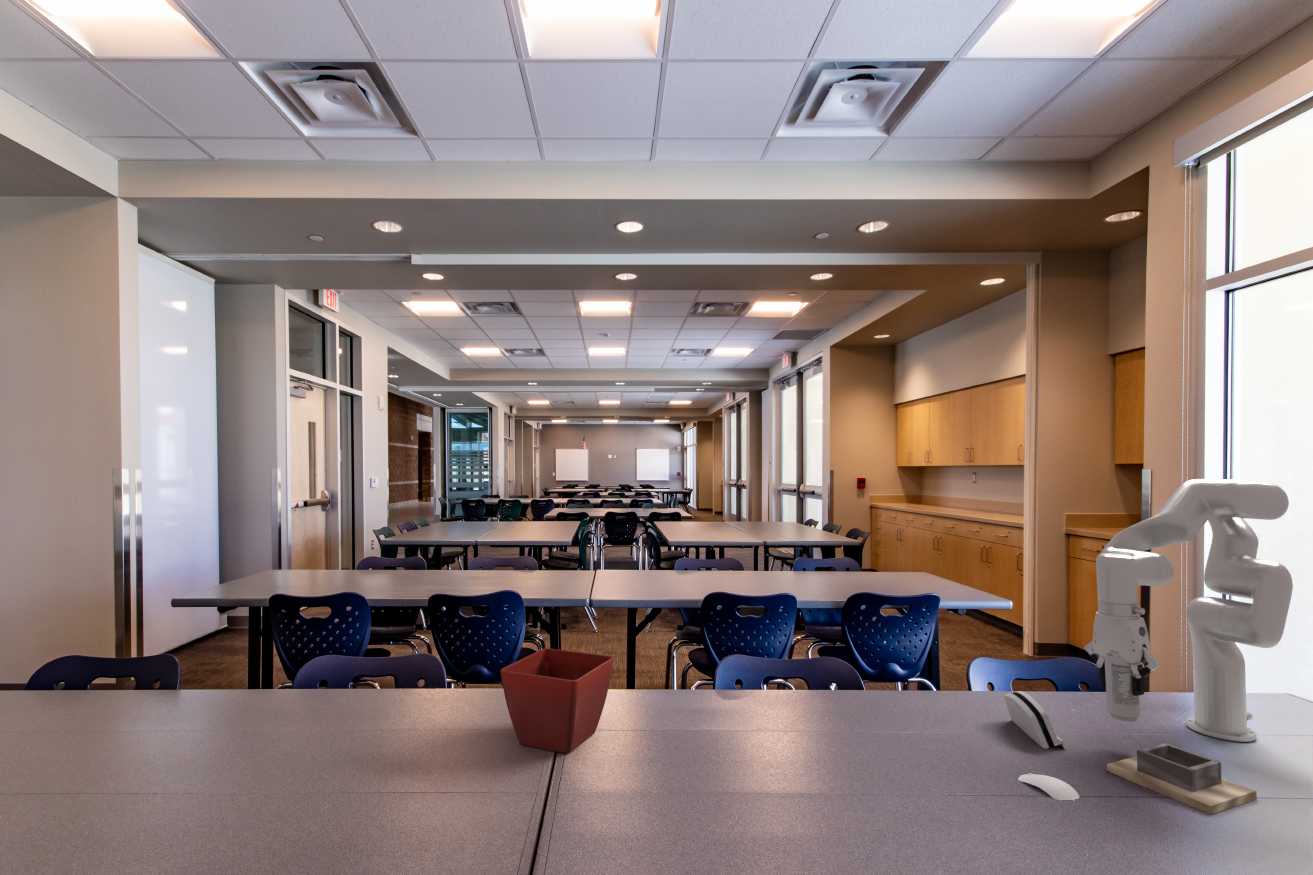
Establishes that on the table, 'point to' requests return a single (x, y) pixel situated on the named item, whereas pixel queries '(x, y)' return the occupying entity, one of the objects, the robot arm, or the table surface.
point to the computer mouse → (1051, 786)
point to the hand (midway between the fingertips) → (1122, 689)
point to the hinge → (1032, 719)
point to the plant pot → (556, 697)
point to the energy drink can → (1120, 688)
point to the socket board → (1183, 778)
